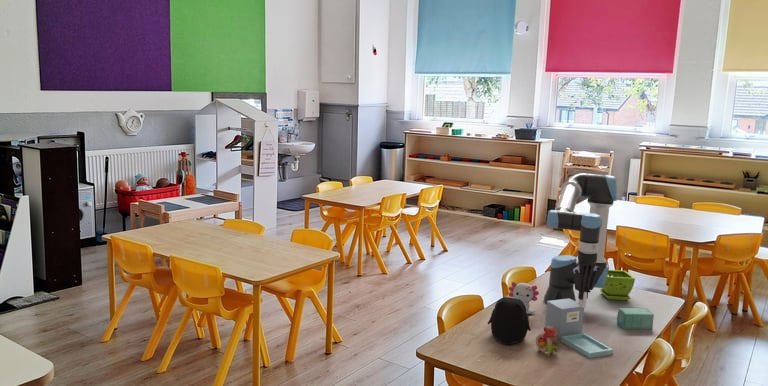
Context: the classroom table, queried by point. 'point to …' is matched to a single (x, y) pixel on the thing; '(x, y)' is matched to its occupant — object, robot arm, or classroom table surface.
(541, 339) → the bird rattle
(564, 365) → the classroom table surface
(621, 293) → the flower pot
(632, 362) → the classroom table surface
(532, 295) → the toy
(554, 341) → the walnut dowel
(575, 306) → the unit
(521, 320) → the penguin
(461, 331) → the classroom table surface
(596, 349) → the tray
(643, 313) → the box
